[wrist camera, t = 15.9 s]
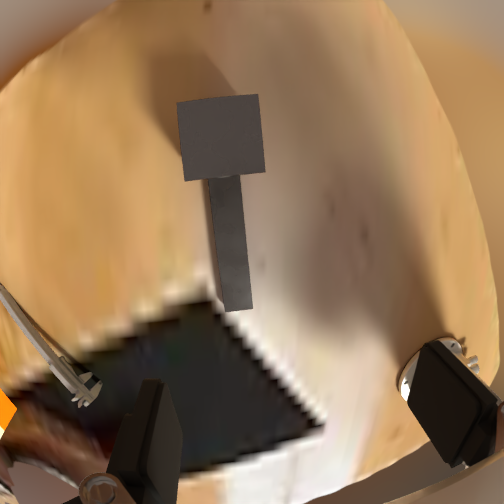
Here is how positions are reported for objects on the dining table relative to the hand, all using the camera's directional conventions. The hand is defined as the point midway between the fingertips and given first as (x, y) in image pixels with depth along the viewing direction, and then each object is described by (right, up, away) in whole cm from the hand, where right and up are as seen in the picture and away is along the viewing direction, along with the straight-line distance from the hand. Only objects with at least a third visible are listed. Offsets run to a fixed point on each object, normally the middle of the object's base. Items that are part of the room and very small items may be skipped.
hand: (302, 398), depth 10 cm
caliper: (-29, -6, +24) cm, 38 cm away
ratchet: (-4, +9, +21) cm, 24 cm away
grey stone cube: (-5, +15, +17) cm, 24 cm away
